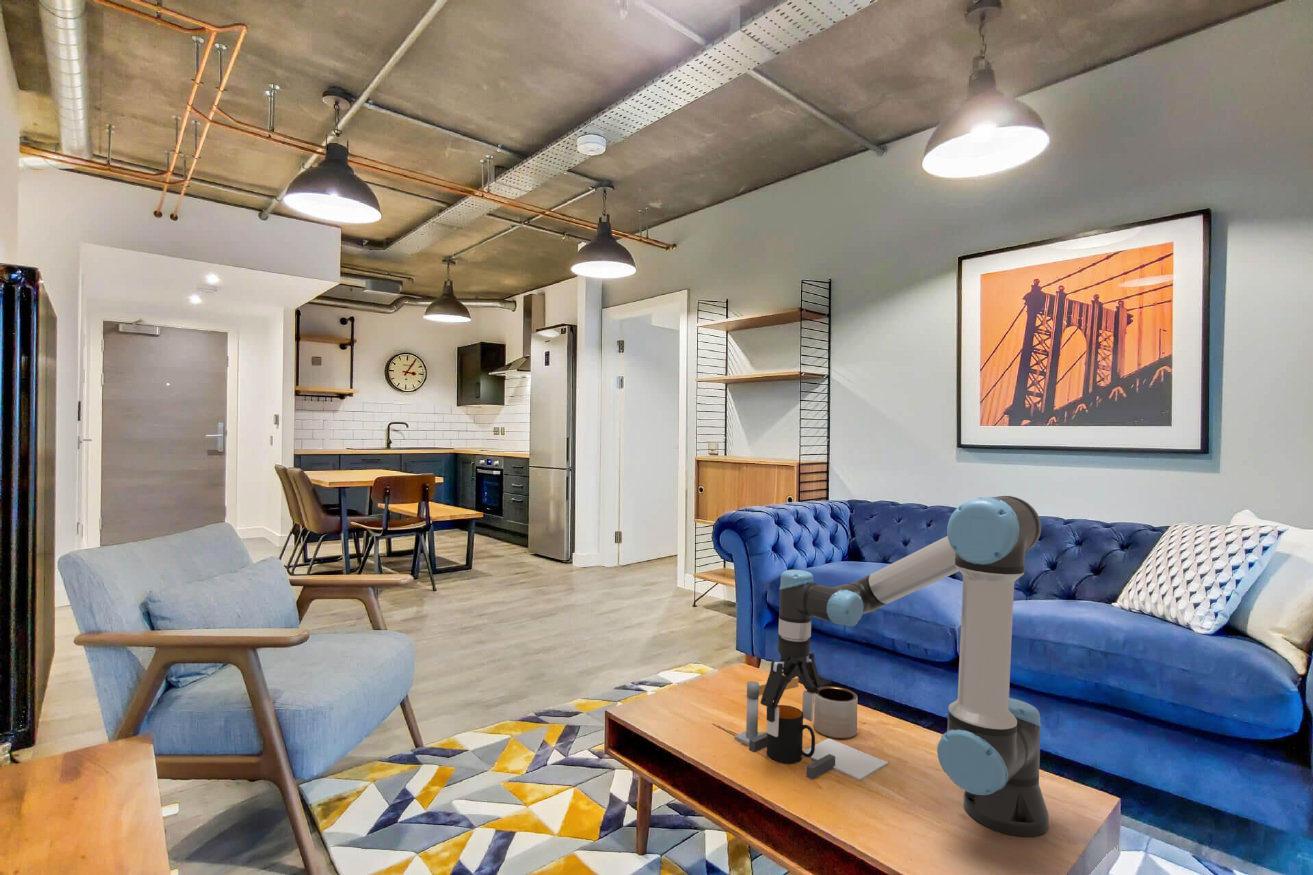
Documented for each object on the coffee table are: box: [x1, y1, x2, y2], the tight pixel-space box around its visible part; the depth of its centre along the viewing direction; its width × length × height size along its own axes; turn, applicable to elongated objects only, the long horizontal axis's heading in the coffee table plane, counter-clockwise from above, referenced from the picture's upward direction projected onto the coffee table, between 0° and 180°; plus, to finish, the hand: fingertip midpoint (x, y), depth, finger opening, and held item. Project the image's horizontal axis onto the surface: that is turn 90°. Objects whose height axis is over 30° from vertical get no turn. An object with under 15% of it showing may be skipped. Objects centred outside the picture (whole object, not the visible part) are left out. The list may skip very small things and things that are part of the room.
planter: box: [813, 685, 858, 740], centre depth 170 cm, size 11×11×10 cm
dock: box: [734, 695, 835, 780], centre depth 156 cm, size 24×9×11 cm, turn 42°
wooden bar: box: [746, 676, 800, 699], centre depth 166 cm, size 16×3×3 cm, turn 120°
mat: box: [802, 737, 889, 781], centre depth 154 cm, size 16×12×1 cm
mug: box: [766, 704, 816, 765], centre depth 154 cm, size 8×12×10 cm
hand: (790, 726), depth 154 cm, fingers open, 13 cm apart
